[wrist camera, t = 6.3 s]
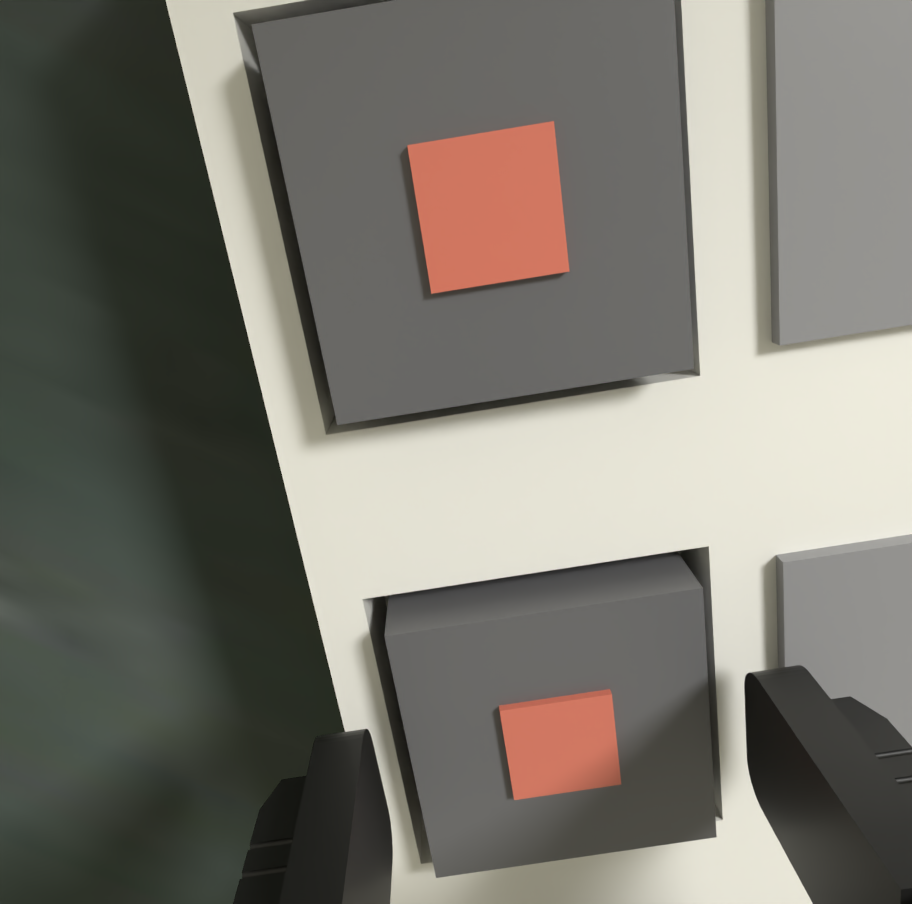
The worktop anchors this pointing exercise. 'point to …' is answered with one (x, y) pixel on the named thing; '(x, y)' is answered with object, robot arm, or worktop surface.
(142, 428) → the worktop surface
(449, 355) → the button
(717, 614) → the power strip
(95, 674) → the worktop surface
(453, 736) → the button middle
